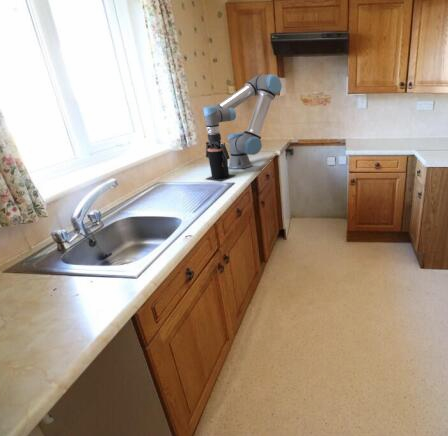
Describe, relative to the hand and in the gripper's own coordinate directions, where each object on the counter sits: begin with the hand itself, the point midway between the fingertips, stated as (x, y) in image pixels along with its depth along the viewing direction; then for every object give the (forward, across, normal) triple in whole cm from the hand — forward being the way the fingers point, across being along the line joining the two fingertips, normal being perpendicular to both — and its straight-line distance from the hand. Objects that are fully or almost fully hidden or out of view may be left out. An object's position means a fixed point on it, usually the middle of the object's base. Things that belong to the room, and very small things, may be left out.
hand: (219, 169), depth 202 cm
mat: (+5, 0, 0) cm, 5 cm away
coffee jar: (+5, 0, 0) cm, 5 cm away
